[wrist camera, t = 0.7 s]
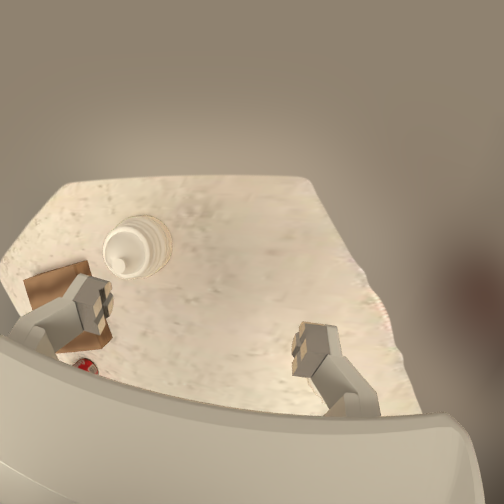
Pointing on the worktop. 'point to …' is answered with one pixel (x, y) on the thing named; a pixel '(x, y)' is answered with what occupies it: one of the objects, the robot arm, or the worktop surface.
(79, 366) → the soda can
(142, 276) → the honey pot
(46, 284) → the walnut block
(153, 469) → the robot arm
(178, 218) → the worktop surface
